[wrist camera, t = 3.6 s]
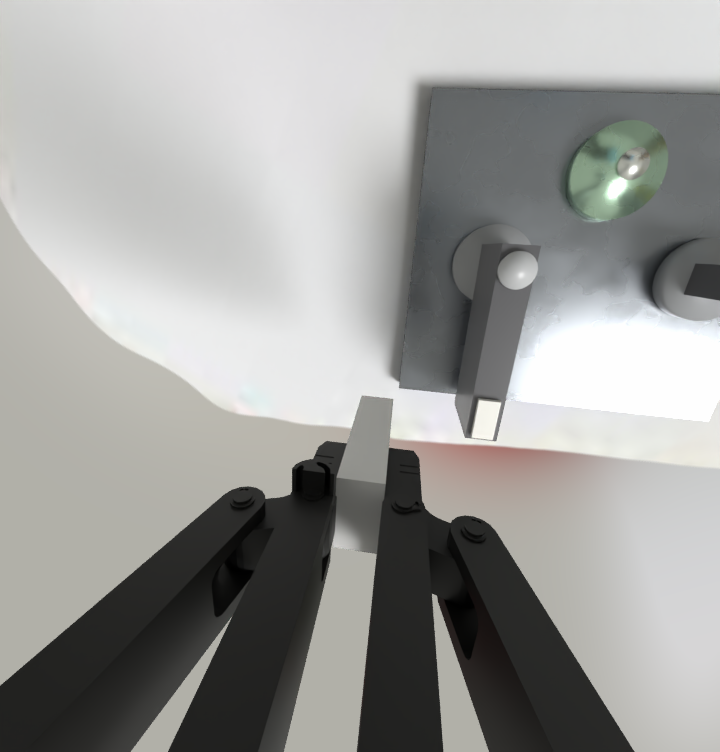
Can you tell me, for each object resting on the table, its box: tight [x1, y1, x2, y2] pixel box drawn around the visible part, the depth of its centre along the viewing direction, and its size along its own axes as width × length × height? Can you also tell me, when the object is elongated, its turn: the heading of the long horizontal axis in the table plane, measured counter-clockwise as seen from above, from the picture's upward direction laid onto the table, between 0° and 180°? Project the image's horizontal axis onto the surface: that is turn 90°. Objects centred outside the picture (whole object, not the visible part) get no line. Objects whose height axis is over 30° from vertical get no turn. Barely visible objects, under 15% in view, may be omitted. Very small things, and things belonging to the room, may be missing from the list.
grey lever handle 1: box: [452, 224, 541, 441], centre depth 21 cm, size 12×5×6 cm, turn 176°
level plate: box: [399, 88, 720, 421], centre depth 23 cm, size 22×19×2 cm
